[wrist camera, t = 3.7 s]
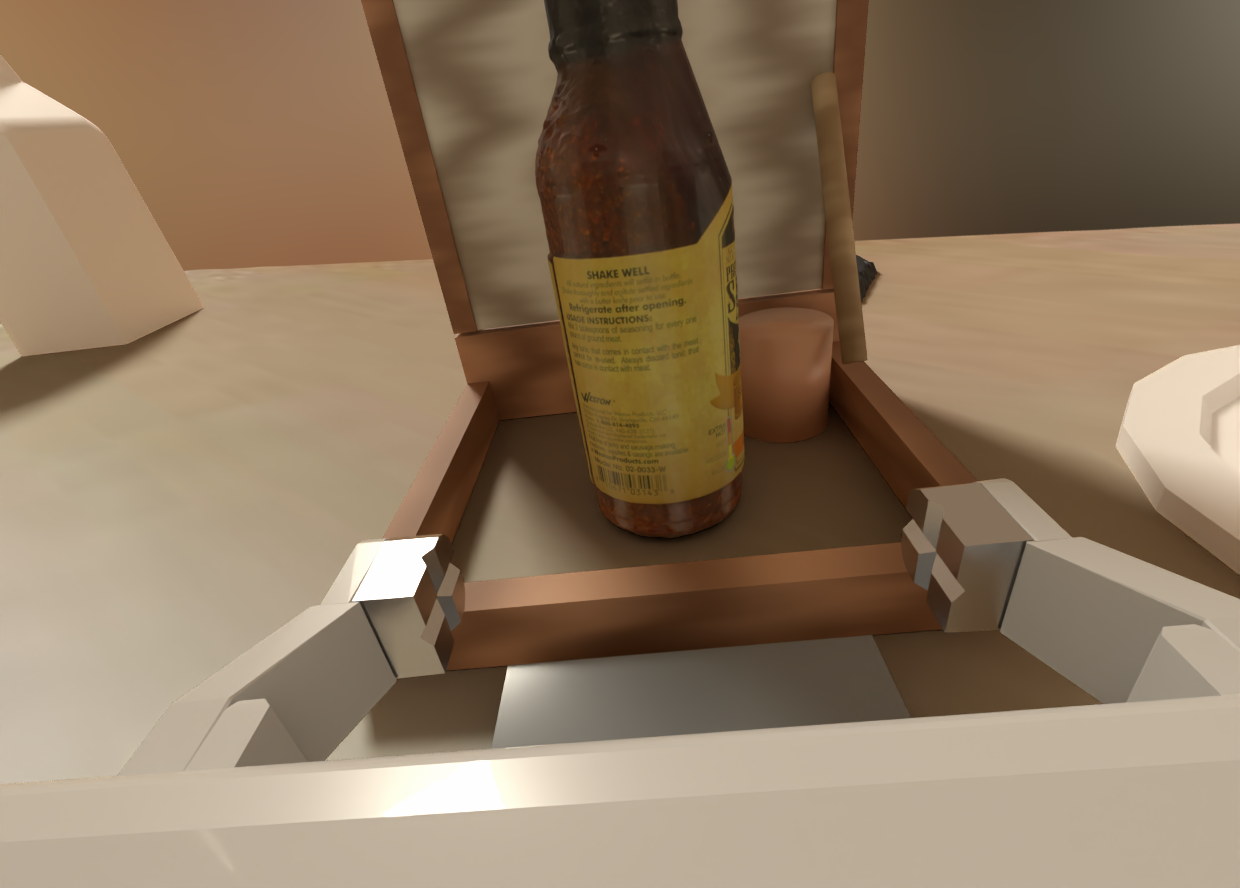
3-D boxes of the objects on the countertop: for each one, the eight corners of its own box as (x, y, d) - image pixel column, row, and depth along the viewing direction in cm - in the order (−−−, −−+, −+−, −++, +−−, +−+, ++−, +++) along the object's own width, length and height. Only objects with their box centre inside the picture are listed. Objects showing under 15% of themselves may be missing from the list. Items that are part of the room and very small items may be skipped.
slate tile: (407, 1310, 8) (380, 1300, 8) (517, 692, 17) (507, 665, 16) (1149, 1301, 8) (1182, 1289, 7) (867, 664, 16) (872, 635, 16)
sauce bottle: (776, 515, 22) (787, -223, 12) (625, 568, 21) (500, -224, 11) (698, 442, 28) (663, -112, 18) (574, 479, 26) (460, -103, 16)
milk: (127, 344, 58) (-58, 25, 45) (21, 356, 59) (-189, 48, 46) (204, 307, 68) (72, 40, 55) (113, 318, 69) (-37, 58, 56)
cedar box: (363, 677, 18) (-272, -542, 7) (482, 412, 34) (345, -94, 22) (1031, 621, 17) (1554, -972, 6) (833, 373, 32) (871, -183, 21)
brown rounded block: (743, 447, 27) (741, 346, 24) (728, 405, 31) (725, 313, 28) (840, 437, 27) (848, 334, 24) (812, 396, 30) (817, 303, 28)
